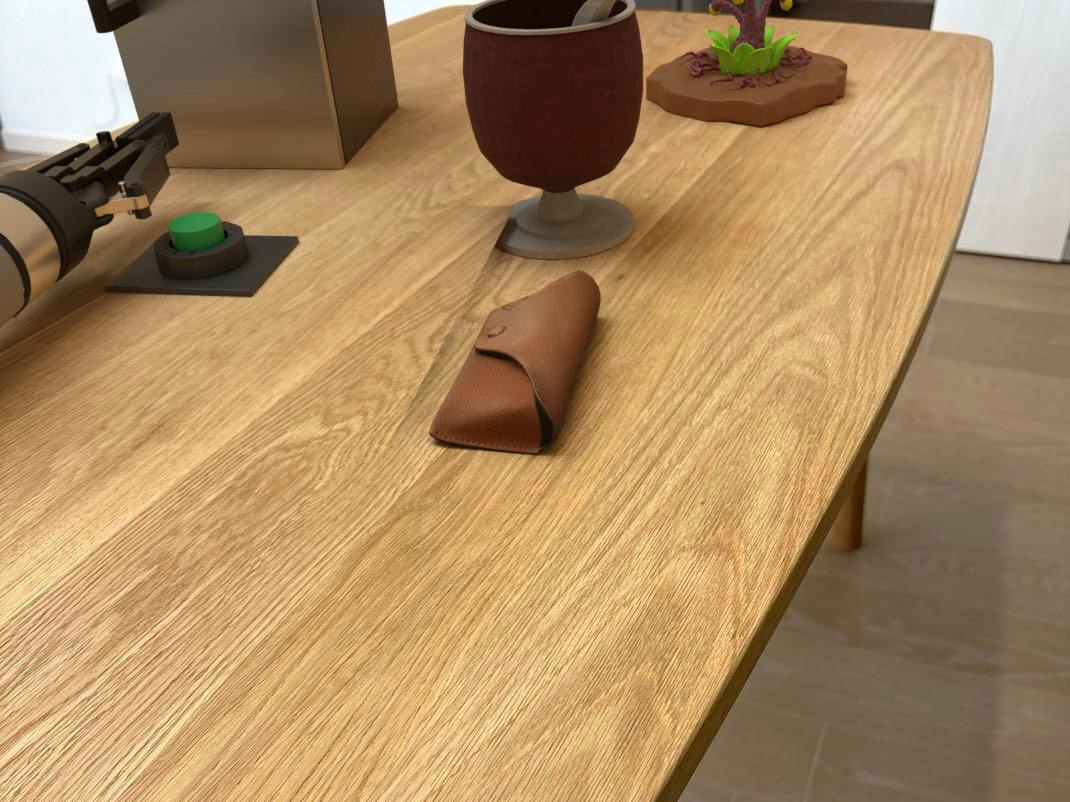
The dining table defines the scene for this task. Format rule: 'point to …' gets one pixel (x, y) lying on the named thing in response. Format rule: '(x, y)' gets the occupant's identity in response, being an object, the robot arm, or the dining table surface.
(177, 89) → the dishwasher door
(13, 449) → the dining table surface
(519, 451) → the sunglasses case
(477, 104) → the mate gourd
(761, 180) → the dining table surface
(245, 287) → the panel
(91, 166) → the robot arm
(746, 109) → the plant
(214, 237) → the button
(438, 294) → the dining table surface
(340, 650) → the dining table surface
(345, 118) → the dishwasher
